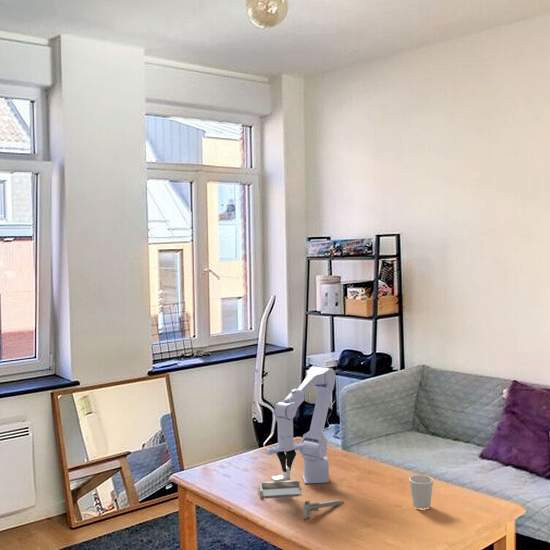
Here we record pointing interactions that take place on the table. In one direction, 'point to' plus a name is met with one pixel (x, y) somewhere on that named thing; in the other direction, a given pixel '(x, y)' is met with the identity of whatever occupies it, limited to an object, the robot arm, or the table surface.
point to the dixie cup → (421, 490)
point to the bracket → (282, 476)
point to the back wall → (280, 484)
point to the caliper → (317, 507)
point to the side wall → (260, 490)
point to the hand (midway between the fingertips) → (286, 470)
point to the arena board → (281, 491)
